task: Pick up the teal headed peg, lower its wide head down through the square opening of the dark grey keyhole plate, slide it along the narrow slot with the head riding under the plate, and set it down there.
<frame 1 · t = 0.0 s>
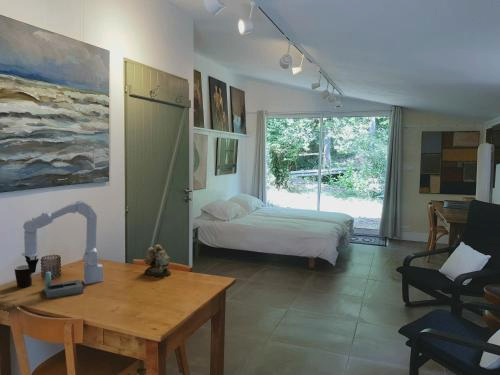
hand: (32, 270, 196), 10 cm above the table, tool pointing down, fingers open, 7 cm apart
coffee mug: (26, 285, 205), on the table
grey lumpy cluster: (157, 274, 226), on the table
peg: (48, 289, 198), on the table
keyhole plate: (64, 292, 194), on the table
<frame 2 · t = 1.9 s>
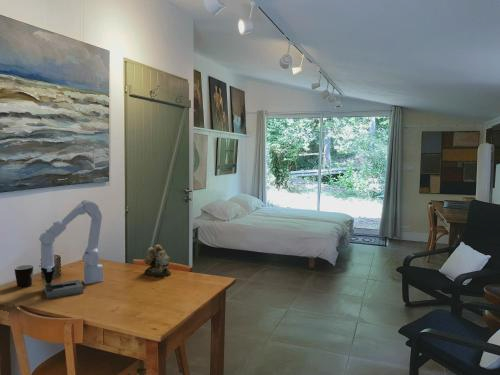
hand: (48, 282, 198), 4 cm above the table, tool pointing down, fingers closed on peg, 2 cm apart
peg: (48, 289, 198), on the table, touching gripper
everything else where it was.
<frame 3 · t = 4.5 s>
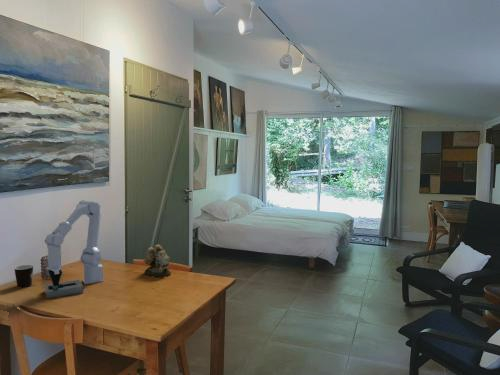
hand: (55, 284, 192), 4 cm above the table, tool pointing down, fingers closed on peg, 2 cm apart
peg: (55, 292, 192), resting in keyhole plate, touching gripper
everything else where it was.
when the fingers open (4 cm above the table, at t = 7.4 s): peg stays where it is, resting in keyhole plate.
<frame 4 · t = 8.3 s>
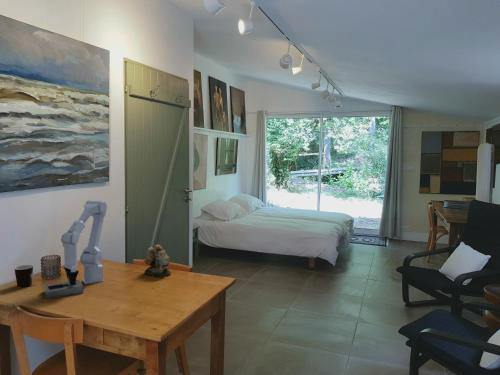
hand: (71, 282, 196), 4 cm above the table, tool pointing down, fingers open, 7 cm apart
peg: (71, 291, 196), resting in keyhole plate
everything else where it was.
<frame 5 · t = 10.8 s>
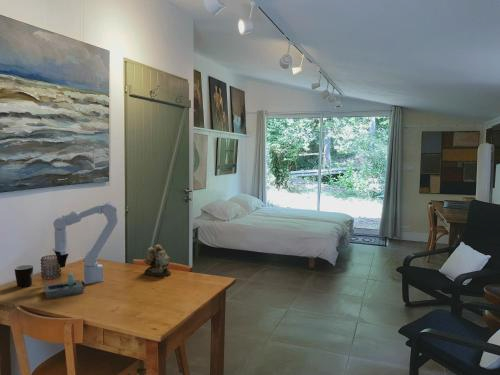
hand: (61, 265, 207), 10 cm above the table, tool pointing down, fingers open, 7 cm apart
nothing on the table moved.
at the end: peg 0.3 cm from the target spot on the keyhole plate, point 0.0 cm above the keyhole plate's base; peg tilted 0°; the gripper is holding nothing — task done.
